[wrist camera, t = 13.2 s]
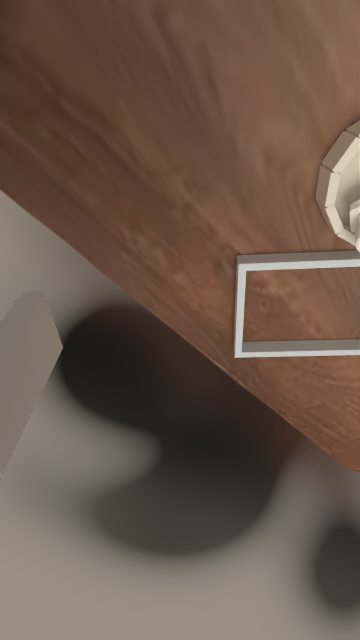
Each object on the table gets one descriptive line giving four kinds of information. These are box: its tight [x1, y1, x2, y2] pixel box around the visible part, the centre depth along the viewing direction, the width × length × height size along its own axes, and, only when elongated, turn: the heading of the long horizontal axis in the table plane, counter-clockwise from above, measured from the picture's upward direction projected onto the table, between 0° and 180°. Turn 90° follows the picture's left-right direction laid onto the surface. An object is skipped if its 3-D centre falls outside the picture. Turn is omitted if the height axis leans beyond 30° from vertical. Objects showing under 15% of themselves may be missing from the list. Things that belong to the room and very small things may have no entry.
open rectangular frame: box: [233, 250, 360, 357], centre depth 49 cm, size 16×24×2 cm, turn 94°
